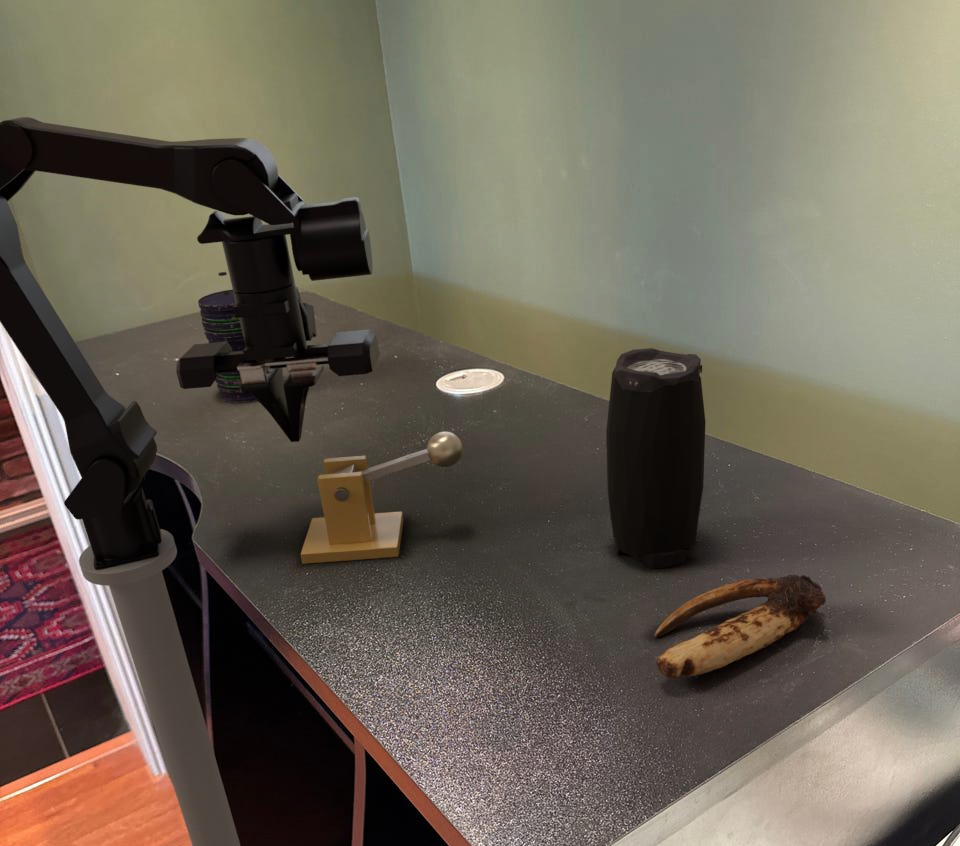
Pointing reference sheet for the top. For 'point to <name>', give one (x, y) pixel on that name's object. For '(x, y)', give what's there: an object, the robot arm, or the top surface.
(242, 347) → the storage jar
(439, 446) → the tap lever
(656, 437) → the portable speaker
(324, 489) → the tap bracket
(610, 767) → the top surface
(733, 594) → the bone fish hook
